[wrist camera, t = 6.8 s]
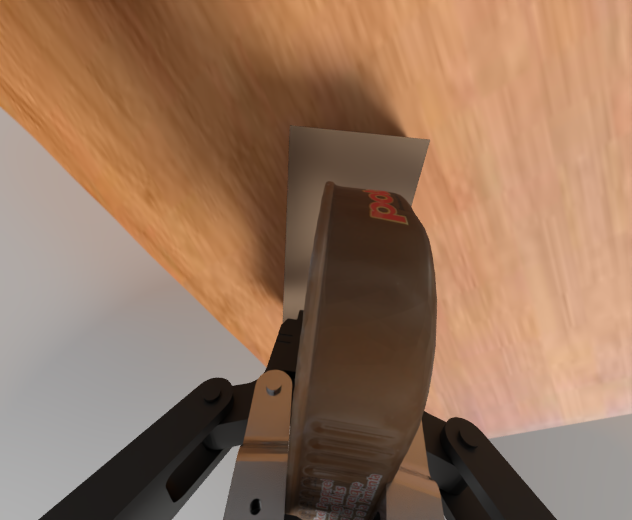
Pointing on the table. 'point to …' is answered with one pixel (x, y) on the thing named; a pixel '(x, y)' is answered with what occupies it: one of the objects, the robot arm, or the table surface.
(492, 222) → the table surface
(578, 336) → the table surface
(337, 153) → the brown rectangular block
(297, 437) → the tin
